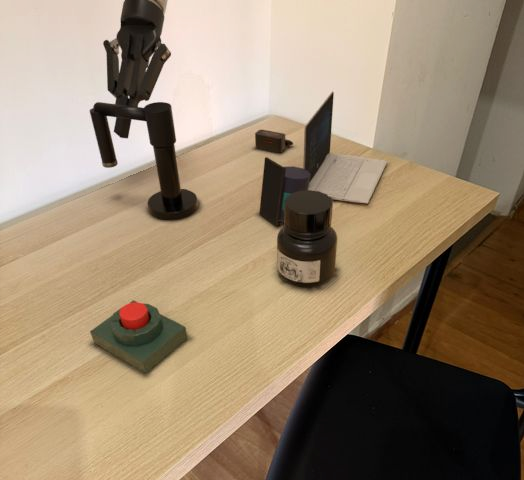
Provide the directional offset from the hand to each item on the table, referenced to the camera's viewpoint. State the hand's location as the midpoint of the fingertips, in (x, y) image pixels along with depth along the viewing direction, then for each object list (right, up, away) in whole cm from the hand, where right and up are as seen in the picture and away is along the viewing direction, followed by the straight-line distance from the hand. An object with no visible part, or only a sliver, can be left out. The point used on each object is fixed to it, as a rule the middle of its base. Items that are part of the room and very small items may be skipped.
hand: (120, 135), depth 98 cm
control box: (+9, -38, -25) cm, 47 cm away
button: (+9, -36, -28) cm, 46 cm away
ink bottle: (+33, -28, -15) cm, 45 cm away
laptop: (+43, -6, +6) cm, 43 cm away
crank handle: (+4, -7, -3) cm, 9 cm away
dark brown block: (+29, +4, +17) cm, 34 cm away
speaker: (+30, -16, -3) cm, 34 cm away
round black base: (+10, -13, 0) cm, 16 cm away
